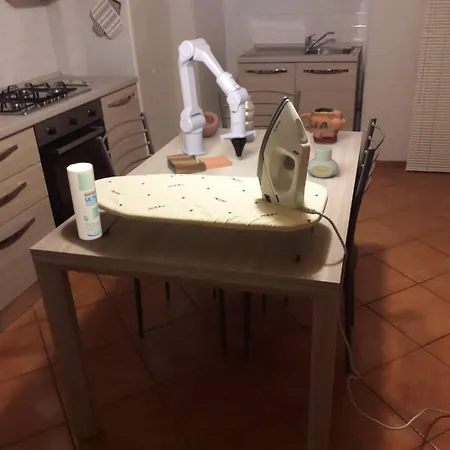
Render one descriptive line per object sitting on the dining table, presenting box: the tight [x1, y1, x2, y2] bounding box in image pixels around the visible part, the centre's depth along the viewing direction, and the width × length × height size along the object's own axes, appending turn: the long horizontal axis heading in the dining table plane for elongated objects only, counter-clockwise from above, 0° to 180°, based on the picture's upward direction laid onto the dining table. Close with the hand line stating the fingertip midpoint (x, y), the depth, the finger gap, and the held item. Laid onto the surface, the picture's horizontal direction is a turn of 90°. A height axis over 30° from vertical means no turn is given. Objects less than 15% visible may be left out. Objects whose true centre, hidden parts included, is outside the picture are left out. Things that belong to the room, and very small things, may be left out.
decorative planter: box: [299, 107, 347, 145], centre depth 213 cm, size 20×12×14 cm, turn 78°
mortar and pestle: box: [202, 111, 220, 138], centre depth 226 cm, size 12×12×12 cm
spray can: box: [66, 162, 103, 241], centre depth 136 cm, size 6×6×20 cm
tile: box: [198, 154, 232, 171], centre depth 192 cm, size 8×10×2 cm
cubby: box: [166, 153, 206, 175], centre depth 188 cm, size 11×11×4 cm
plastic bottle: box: [246, 93, 255, 143], centre depth 215 cm, size 6×7×20 cm
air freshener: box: [307, 145, 339, 179], centre depth 176 cm, size 11×8×10 cm
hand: (238, 156), depth 195 cm, fingers closed
